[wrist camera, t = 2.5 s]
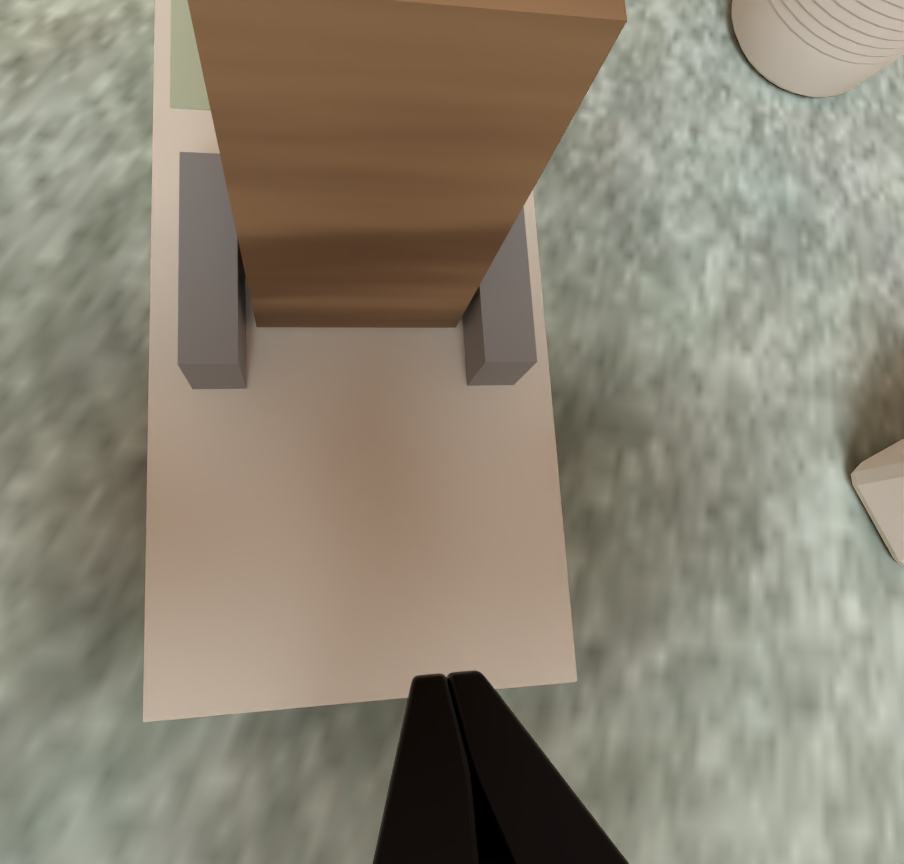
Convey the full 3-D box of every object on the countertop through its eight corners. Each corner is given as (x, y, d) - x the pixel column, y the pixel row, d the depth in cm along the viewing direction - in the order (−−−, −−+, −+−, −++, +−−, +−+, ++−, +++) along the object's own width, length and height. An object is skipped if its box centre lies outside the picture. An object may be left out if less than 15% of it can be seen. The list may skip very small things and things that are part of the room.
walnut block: (455, 327, 23) (627, 20, 11) (256, 327, 22) (182, -17, 9) (447, 194, 24) (595, -236, 11) (254, 187, 23) (185, -299, 10)
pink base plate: (566, 677, 23) (610, 693, 19) (151, 715, 20) (119, 741, 17) (506, -3, 27) (533, -86, 24) (162, -34, 25) (139, -130, 22)
